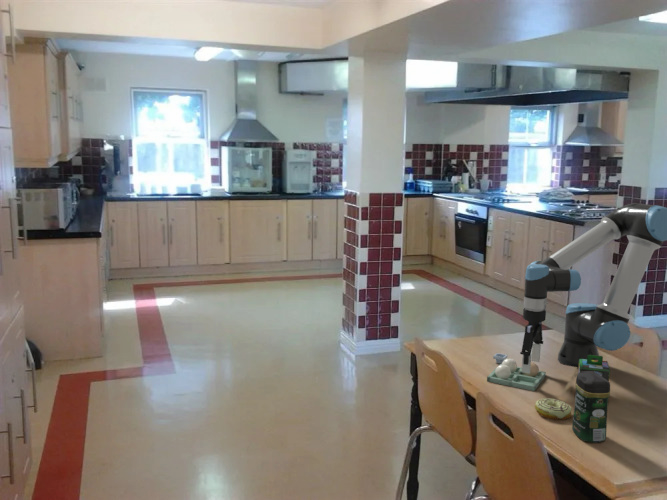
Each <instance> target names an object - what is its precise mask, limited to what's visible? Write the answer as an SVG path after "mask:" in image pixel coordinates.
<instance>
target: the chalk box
mask: <svg viewBox="0 0 667 500" xmlns="http://www.w3.org/2000/svg"><path fill="white" fill-rule="evenodd" d="M592 358H597V359H598V360H591V359H592ZM603 358H604V357H603V355H599V356H598V355H588V357H587V359H579V368H578V370H577V371H578V373H577V375H578V374H579V373H580V372H581V371H594V372H595V373H597V374H599V375H600V376H602V377H603V378H605V379H606V380H607V381H609V382H610V375H611V372H610V371H611V370H610V366H609V362H608V360H604V359H603Z"/></svg>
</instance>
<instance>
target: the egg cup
mask: <svg viewBox="0 0 667 500" xmlns="http://www.w3.org/2000/svg"><path fill="white" fill-rule="evenodd" d="M492 357H493V358H492V359H495V363H497V364H502V362H503V361H504V360H505V359H508V354H504V353H501V352H500V353H499V352H496V353H495V354H494V355H493V356H492Z"/></svg>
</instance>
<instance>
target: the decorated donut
mask: <svg viewBox="0 0 667 500" xmlns="http://www.w3.org/2000/svg"><path fill="white" fill-rule="evenodd" d="M534 409H535V411H536V413H537V414H538V415H539V416H542V417H543V418H545V419H548V420H557V421H558V420H561V421H564V420H567V419H569V418H571V416H572V411H573V408H572V407H571V406H570V404H568V403H566V402H565V401H563V400H560V399H556V398H550V397H549V398H547V397H546V398H545V397H544V398H540V399H538V400H536V402H535V405H534Z"/></svg>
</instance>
